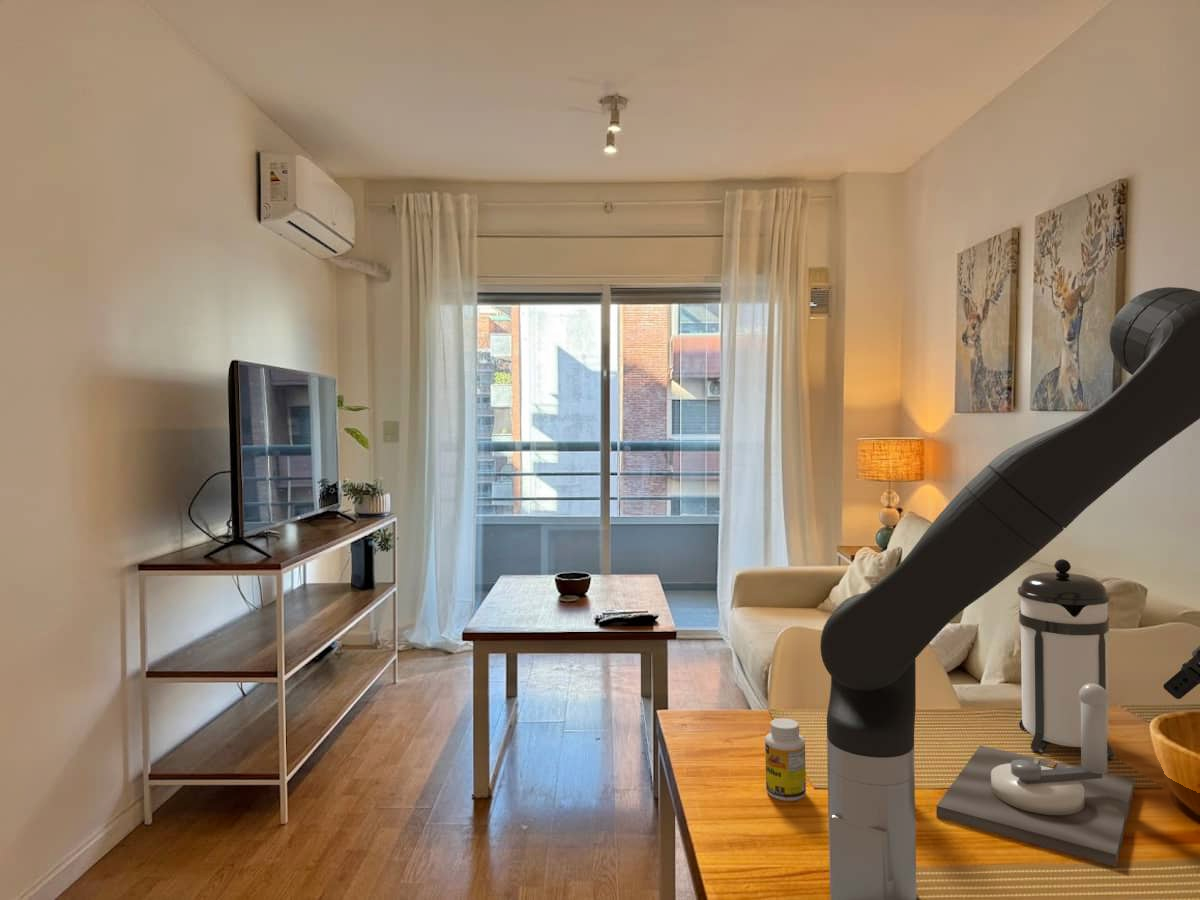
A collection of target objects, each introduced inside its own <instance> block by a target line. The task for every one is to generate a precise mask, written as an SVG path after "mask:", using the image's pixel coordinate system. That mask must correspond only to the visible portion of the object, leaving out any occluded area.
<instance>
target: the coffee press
mask: <svg viewBox="0 0 1200 900" xmlns="http://www.w3.org/2000/svg"><path fill="white" fill-rule="evenodd" d="M1053 566H1054V569H1055V570H1056V571H1054V572H1049V571H1048V572H1038V573H1037V572H1036V573H1034V574H1033V573H1032V574H1031V575H1028V576H1026V577H1025V578H1024V579H1023V580H1022V582H1021V585H1020V586H1019V587H1017V595H1018V596H1019V597H1020V609H1019V611H1018V619H1019V620H1018V621H1019V624H1020V655H1021V656H1020V657H1021V659H1020V660H1021V663H1020V665H1021V671H1020V673H1021V719H1020V721H1019V723H1018V725H1019V728H1020V729H1021V730H1022V729H1025V731H1027V733H1029V734H1030V735H1032V737H1033V739H1032V741H1031V742H1030V743H1031V744H1030V750H1031V751H1033V752H1035V753H1039V754H1043V753H1044V752H1045V750H1046V748H1047V747H1048V745H1049V744H1054V745H1058V746H1062V747H1063V746H1065V747H1071V748H1081V700H1080V698H1079V691H1080V689H1081V687H1082V686H1084V685H1086V684H1089V683H1093V684H1097V685H1100V686H1101V687H1103V688H1104V689H1105V690H1106V692H1107V694H1108V695H1109V647H1108V646H1109V644H1108V643H1109V641H1108V640H1109V639H1108V638H1109V637H1108V632H1110V617H1109V616H1108V606H1109V603H1110V602H1111V594H1110V593H1109V592H1107V588H1106V586H1105V585H1104V584H1103V583H1101V582H1100V581H1099V580H1097V579H1095V578H1093V577H1090V576H1087V575H1084V574H1078V573H1070V572H1069V571H1070V570H1071V567H1072V566H1071V563H1070V562H1069V561H1067V560H1066V559H1065V558H1063V559H1058V560H1056V562H1055V563H1054V565H1053ZM1108 736H1109V702H1108V703H1107V738H1109V737H1108ZM1110 745H1111V744H1109V742H1108V740H1107V761H1108V760H1110V759H1113V758H1115V757H1114V756H1115V752H1114V750H1113V749H1112V747H1111V746H1110Z"/></svg>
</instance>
